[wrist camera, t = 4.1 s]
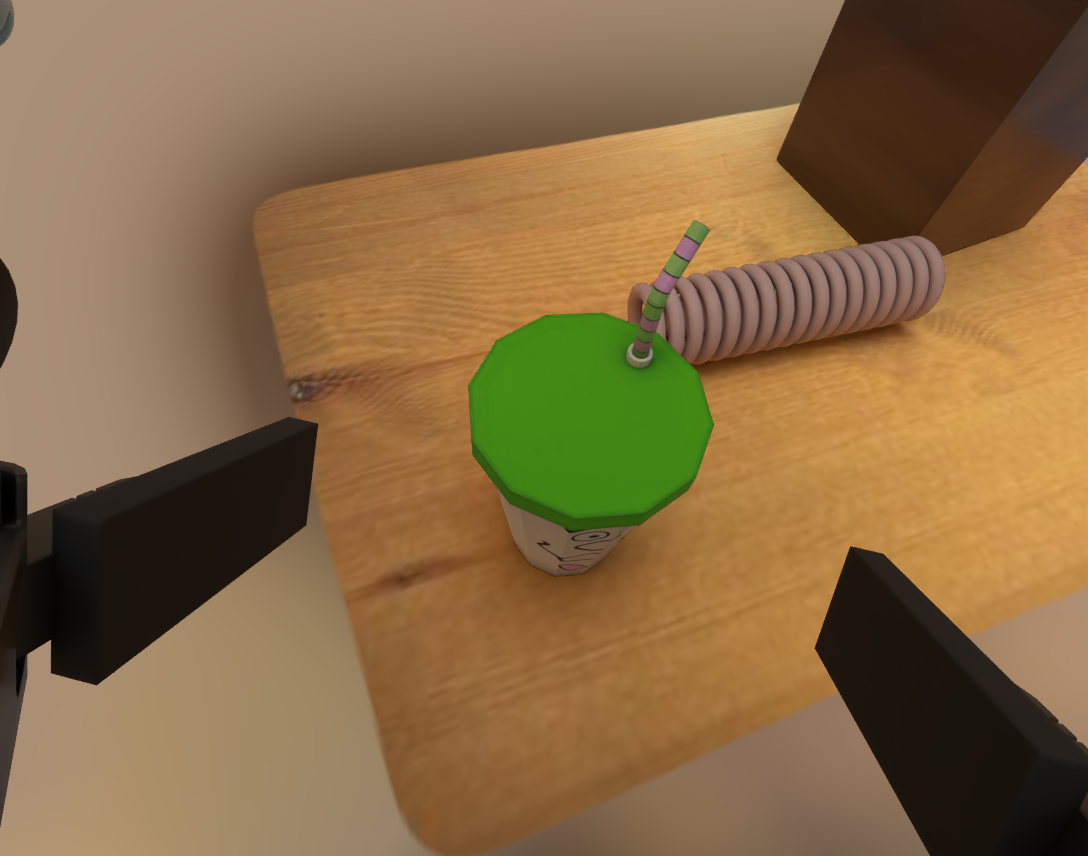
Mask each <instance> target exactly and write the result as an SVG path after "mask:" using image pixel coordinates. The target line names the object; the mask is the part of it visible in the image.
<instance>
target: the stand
mask: <svg viewBox="0 0 1088 856" xmlns="http://www.w3.org/2000/svg"><path fill="white" fill-rule="evenodd" d="M1087 157H1088V0H845V1H844V4H843V6H842V9H841V11H840V13H839V15H838V18H837V20H836V22H835V25H834V27H833V29H832V32H831V34H830V36H829V39H828V41H827V43H826V45H825V48H824V50H823V53H822V55H821V57H820V59H819V62H818V64H817V66H816V69H815V71H814V73H813V76H812V78H811V80H810V82H809V85H808V87H807V90H806V92H805V94H804V96H803V99H802V101H801V103H800V106H799V108H798V110H797V113H796V115H795V117H794V120H793V122H792V124H791V126H790V129H789V131H788V133H787V136H786V138H785V140H784V143H783V145H782V147H781V150H780V152H779V154H778V157H777V161H778V162H779V163H780V164H781V165H782V166H783V167H784V168H785V169H786V170H787V171H788V172H789V173H790V174H791V175H792V176H793V177H794V178H795V179H796V180H797V181H798V182H799V183H800V184H801V185H802V186H803V187H804V188H805V189H806V190H807V191H808V192H809V193H810V194H811V195H812V196H813V197H814V198H815V199H816V200H817V201H818V202H819V203H820V204H821V205H822V206H823V207H824V208H825V209H826V210H827V211H828V212H829V213H830V214H831V215H832V216H833V217H834V218H835V219H836V220H837V221H838V222H839V223H840V224H841V225H842V226H843V227H844V228H845V229H846V230H847V231H848V232H849V233H850V234H851V235H852V236H853V237H854V238H855V239H856V240H857V241H858V242H859V243H860V244H861V245H862V244H872V243H874V242H880V241H888V240H891V239H897V238H900V239H902V238H904V237H908V236H920V237H923V238H925V239H927V240H929V241H930V242H932V243H933V244H934V245H935V246H936V247H937V249H938V250H939V252H940V254H941V256H942V255H945V254H947V253H950V252H953V251H956V250H959V249H962V248H965V247H968V246H970V245H973V244H976V243H979V242H982V241H985V240H988V239H990V238H993V237H996V236H999V235H1002V234H1005V233H1008V232H1010V231H1013V230H1016V229H1019V228H1022V227H1024V226H1025V225H1026V224H1027V223H1028V222H1029V221H1030V220H1031V218H1032V217H1033V216H1034V215H1035V214H1036V213H1037V212H1038V211H1039V210H1040V209H1041V208H1042V206H1043V205H1044V204H1045V203H1046V202H1047V201H1048V200H1049V199H1050V198H1051V197H1052V196H1053V194H1054V193H1055V192H1056V191H1057V190H1058V189H1059V188H1060V187H1061V186H1062V185H1063V183H1064V182H1065V181H1066V180H1067V179H1068V178H1069V177H1070V176H1071V175H1072V174H1073V173H1074V171H1075V170H1076V169H1077V168H1078V167H1079V166H1080V165H1081V164H1082V163H1083V162H1084V161H1085V159H1086V158H1087Z"/></svg>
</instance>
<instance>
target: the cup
mask: <svg viewBox="0 0 1088 856" xmlns="http://www.w3.org/2000/svg"><path fill="white" fill-rule="evenodd" d="M709 231H710V230H709V229H708V228H707V227H706V226H705V225H703V224H702V223H700V222H698V221H696V220H693V222H692V224H691V225H690V227H689V228H688V230H687V232H686V233H685V235H684V236H683V238H682V240H681V241H680V243H679V244H678V246H677V248H676V249H675V251H674V253H673V254H672V256H671V257H670V259H669V261H668V262H667V264H666V265H665V267H664V269H663V270H662V272H661V273H660V275H659V277H658V278H657V280H656V281H655V283H654V285H653V287H652V289H651V292H650V294H649V296H648V299H647V302H646V305H645V308H644V312H643V315H642V318H641V322H640V325H639V326H638V325H635V324H632V323H630V322H627V321H624V320H621V319H619V318H616V317H613V316H611V315H608V314H605V313H584V314H561V315H545V316H543V317H541V318H539V319H537V320H535V321H533V322H531V323H529V324H527V325H525V326H523V327H521V328H520V329H518V330H516V331H514V332H512V333H510V334H508V335H506V336H504V337H502V338H500V339H498V340H496V342H495V343H494V345H493V347H492V348H491V350H490V351H489V353H488V355H487V356H486V358H485V359H484V361H483V363H482V364H481V366H480V367H479V369H478V371H477V372H476V374H475V375H474V377H473V379H472V380H471V382H470V383H469V386H468V390H469V407H470V424H471V441H472V454H473V456H474V458H475V459H476V460H477V462H478V463H479V464H480V465H481V467H482V468H483V469H484V471H485V472H486V473H487V475H488V476H489V477H490V479H491V480H492V481H493V483H494V484H495V485H496V488H497V491H498V494H499V497H500V500H501V503H502V506H503V509H504V512H505V515H506V518H507V522H508V525H509V528H510V531H511V534H512V537H513V540H514V543H515V545H516V546H517V548H518V549H519V551H520V552H521V553H522V555H523V556H524V557H525V559H526V560H527V561H528V563H529V564H530V565H531V566H533V567H535V568H537V569H540V570H542V571H544V572H546V573H548V574H551V575H553V576H566V575H577V574H583V573H584V572H585V571H587V570H588V569H590V568H591V567H592V566H594V565H595V564H597V563H598V562H599V561H601V560H602V559H603V558H604V557H605V556H606V555H607V554H608V553H609V552H610V551H611V550H612V549H613V548H614V547H615V546H616V545H617V544H618V543H619V542H620V541H621V540H622V539H623V538H624V537H625V536H626V535H627V534H628V533H629V532H630V531H631V530H632V529H633V528H634V527H635V526H639V525H640V524H642V523H643V522H645V521H646V520H647V519H649V518H650V517H652V516H653V515H654V514H656V513H657V512H659V511H660V510H661V509H663V508H664V507H666V506H667V505H668V504H670V503H671V502H672V501H674V500H675V499H677V498H678V497H679V496H681V495H682V494H684V493H685V492H686V491H688V490H689V488H690V486H691V485H692V483H693V481H694V480H695V478H696V476H697V473H698V470H699V467H700V464H701V461H702V458H703V455H704V452H705V450H706V447H707V444H708V441H709V438H710V435H711V432H712V429H713V426H714V423H713V420H712V417H711V413H710V410H709V406H708V403H707V400H706V396H705V393H704V389H703V386H702V383H701V379H700V376H699V373H698V372H697V371H696V370H695V369H694V368H693V367H692V366H691V365H690V364H689V363H688V362H687V361H686V360H685V359H684V358H683V357H682V356H681V355H680V354H679V353H678V352H677V351H676V350H675V349H674V348H673V347H672V346H671V345H670V344H669V343H668V342H667V341H666V340H665V339H664V338H663V337H662V336H661V335H659V334H658V333H657V332H656V330H657V327H658V324H659V321H660V318H661V315H662V312H663V309H664V306H665V304H666V301H667V299H668V297H669V295H670V293H671V291H672V289H673V288H674V286H675V285H676V283H677V281H678V280H679V278H680V277H681V275H682V274H683V272H684V270H685V269H686V267H687V266H688V264H689V263H690V261H691V259H692V258H693V256H694V255H695V253H696V252H697V250H698V248H699V247H700V245H701V244H702V242H703V241H704V239H705V237H706V236H707V234H708V233H709Z"/></svg>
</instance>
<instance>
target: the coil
mask: <svg viewBox="0 0 1088 856" xmlns="http://www.w3.org/2000/svg"><path fill="white" fill-rule="evenodd" d="M944 281H945V267H944V262H943V259H942V256H941V254H940V252H939V250H938V249H937V247H936V246H935V245H934V244H933V243H932V242H930V241H929V240H927V239H925V238H923V237H920V236H908V237H904V238H902V239H900V238H897V239H891V240H888V241H880V242H874V243H872V244H862V245H858V246H855V247H845V248H842V249H839V250H836V249H835V250H828V251H825V252H823V253H821V252H817V253H811V254H808V255H807V256H805V255H799V256H794V257H792V258H790V259H788V258H782V259H777V260H775V261H774V262H771V261H764V262H760V263H758V264H757V265H754V264H747V265H743V266H742V267H740V268H736V267H729V268H726V269H724V270H723V271H722V272H721V271H719V270H712V271H709V272H707V273H706V274H705V275H703V274H700V273H695V274H691V275H690V276H688V277H687V278H684V277H682V276H681V277H680V278H679V280H678V281H677V283H676V285H675V286H674V288H673V289H672V291H671V293H670V295H669V297H668V299H667V301H666V304H665V306H664V309H663V312H662V315H661V318H660V321H659V324H658V327H657V330H656V332H657V333H658V334H659V335H661V336H662V337H663V338H664V339H665V340H666V341H667V339H666V332H667V335H668V341H667V342H668V343H669V344H670V345H671V346H672V347H673V348H674V349H675V350H676V351H677V352H678V353H679V354H680V355H681V356H682V357H683V358H684V359H685V360H686V361H687V362H688V363H689V364H702V363H705V362H706V361H708V360H710V361H717V360H721V359H723V358H724V357H737V356H739V355H741V354H742V353H744V354H751V353H755V352H757V351H759V350H771V349H773V348H775V347H786V346H789V345H791V344H793V343H795V344H799V343H804V342H807V341H809V340H820V339H822V338H824V337H834V336H838V335H840V334H849V333H853V332H855V331H863V330H868V329H870V328H873V327H883V326H885V325H888V324H898V323H900V322H903V321H912V320H915V319H918V318H920V317H922V316H923V315H925V314H926V313H928V312H929V311H930V310H931V309H932V308H933V307H934V306H935V304H936V303H937V301H938V300H939V298H940V295H941V293H942V290H943V287H944ZM791 282H792V285H791ZM654 283H655V281H654V282H653V283H652V284H651V285H648V284H646V283H638V284H636V285H635V286H634V287H633V288H632V290H631V292H630V295H629V299H628V320H629V322H630V323H632V324H635V325H638V326H639V325H640V322H641V318H642V315H643V314H642V305H643V303H644V305H646V302H647V299H648V296H649V294H650V292H651V289H652V287H653V285H654ZM696 289H697V291H696ZM775 289H776V296H775ZM678 293H679V294H680V296H678ZM759 298H760V302H759ZM776 298H777V304H778V309H777V304H776ZM760 306H761V308H760ZM794 307H795V310H794ZM685 335H686V338H687V339H686V340H685ZM703 336H704V338H703ZM721 336H722V337H721Z"/></svg>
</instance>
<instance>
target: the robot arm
mask: <svg viewBox="0 0 1088 856" xmlns="http://www.w3.org/2000/svg"><path fill="white" fill-rule="evenodd" d="M13 25H14V11H13V6H12V1H11V0H0V46H1V45H2V44H3V43H5V41H6V40H7V39H8V38H9V36H10V34H11V32H12V29H13ZM317 429H318V424H317V423H313V422H309V421H304V420H300V419H296V418H291V417H287V418H285V419H282V420H280V421H277V422H275V423H273V424H270V425H267V426H264V427H262V428H259V429H257V430H254V431H252V432H249V433H247V434H244V435H242V436H239V437H236V438H234V439H232V440H229V441H226V442H224V443H221V444H219V445H216V446H213V447H211V448H209V449H206V450H203V451H201V452H198V453H196V454H193V455H190V456H188V457H185V458H183V459H180V460H178V461H175V462H173V463H170V464H167V465H165V466H162V467H160V468H158V469H155V470H152V471H150V472H147V473H144V474H142V475H139V476H136V477H131V478H126V479H120V480H118V481H115V482H112V483H109V484H107V485H104V486H102V487H99V488H97V489H96V491H93V490H91V491H89V492H86V493H83V494H81V495H78V496H77V498H76V499H75V498H70V499H68V500H65V501H63V502H60V503H57V504H55V505H52V506H50V507H47V508H44V509H42V510H39V511H36V512H34V513H32V514H29V515H27V473H26V470H25V468H23V467H21V466H18V465H16V464H14V463H9V462H4V461H0V825H1V819H2V814H3V808H4V802H5V797H6V792H7V786H8V780H9V775H10V769H11V764H12V758H13V752H14V747H15V741H16V735H17V730H18V724H19V719H20V713H21V707H22V702H23V696H24V691H25V685H26V680H27V654H28V653H30V652H32V651H33V650H35V649H36V648H38V647H40V646H41V645H43V644H45V643H46V642H48V641H49V640H51V673H52V674H56V675H60V676H64V677H67V678H71V679H75V680H78V681H82V682H86V683H90V684H94V685H98V684H99V683H100V682H102V681H103V680H104V679H106V678H107V677H108V676H110V675H111V674H112V673H114V672H115V671H116V670H117V669H119V668H120V667H121V666H123V665H124V664H125V663H127V662H128V661H129V660H130V659H132V658H133V657H134V656H136V655H137V654H138V653H140V652H141V651H142V650H144V649H145V648H146V647H148V646H149V645H150V644H151V643H153V642H154V641H155V640H157V639H158V638H159V637H161V636H162V635H163V634H165V633H166V632H167V631H168V630H170V629H171V628H172V627H174V626H175V625H176V624H178V623H179V622H180V621H181V620H183V619H184V618H186V616H188V615H189V614H191V613H192V612H193V611H195V610H196V609H197V608H199V607H200V606H201V605H202V604H204V603H205V602H206V601H208V600H209V599H210V598H212V597H213V596H214V595H215V594H217V593H218V592H219V591H221V590H222V589H223V588H225V587H226V586H227V585H229V584H230V583H231V582H233V581H234V580H235V579H237V578H238V577H239V576H240V575H242V574H243V573H244V572H246V571H247V570H248V569H250V568H251V567H252V566H254V565H255V564H256V563H257V562H259V561H260V560H261V559H263V558H264V557H265V556H267V555H268V554H269V553H271V552H272V551H273V550H274V549H276V548H277V547H278V546H280V545H281V544H282V543H284V542H285V541H286V540H288V539H289V538H290V537H292V536H293V535H294V534H295V533H297V532H298V531H299V530H301V529H302V528H303V527H305V526H306V523H307V514H308V506H309V496H310V489H311V480H312V472H313V463H314V455H315V446H316V438H317ZM815 650H816V651H817V653H818V655H819V657H820V659H821V660H822V662H823V664H824V666H825V668H826V669H827V671H828V673H829V675H830V677H831V678H832V680H833V682H834V684H835V686H836V687H837V689H838V691H839V693H840V695H841V696H842V698H843V700H844V702H845V704H846V705H847V707H848V709H849V711H850V713H851V714H852V716H853V718H854V720H855V722H856V723H857V725H858V727H859V729H860V731H861V732H862V734H863V736H864V738H865V740H866V741H867V743H868V745H869V747H870V749H871V750H872V752H873V754H874V756H875V758H876V759H877V761H878V763H879V765H880V767H881V768H882V770H883V772H884V774H885V776H886V777H887V779H888V781H889V783H890V784H891V786H892V788H893V790H894V792H895V793H896V795H897V797H898V799H899V801H900V803H901V804H902V806H903V808H904V810H905V812H906V813H907V815H908V817H909V819H910V821H911V823H912V824H913V826H914V828H915V830H916V831H917V833H918V835H919V837H920V839H921V841H922V842H923V844H924V846H925V848H926V849H927V851H928V853H929V855H930V856H1088V748H1087V747H1086V746H1085V745H1084V744H1082V743H1081V742H1077V738H1076V737H1075V736H1074V735H1073V734H1072V733H1071V732H1070V731H1069V730H1068V729H1067V728H1066V727H1065V726H1064V725H1063V724H1059V723H1058V719H1057V718H1056V717H1055V716H1054V715H1053V714H1052V713H1051V712H1050V711H1049V710H1047V709H1046V707H1044V706H1043V705H1042V704H1041V703H1040V702H1039V701H1038V700H1037V699H1036V698H1035V697H1033V696H1032V695H1030V694H1029V693H1027V692H1026V691H1025V690H1023V689H1022V688H1020V687H1019V686H1017V685H1016V684H1014V683H1013V682H1012V681H1011V680H1010V679H1009V678H1008V677H1007V676H1006V675H1005V674H1004V673H1003V672H1002V671H1001V670H1000V669H999V668H998V667H997V666H996V665H995V664H994V663H993V662H992V661H991V660H990V659H989V658H988V657H987V656H986V655H985V654H984V653H983V652H982V651H981V650H980V649H979V648H978V647H977V646H976V645H975V644H974V643H973V642H972V641H971V640H970V639H969V638H968V637H967V636H966V635H965V634H964V633H963V632H962V631H961V630H960V629H959V628H958V627H957V626H956V625H955V624H954V623H953V622H952V621H951V620H950V619H949V618H948V617H947V616H946V615H945V614H944V613H943V612H942V611H941V610H940V609H939V608H938V607H937V606H936V605H935V604H934V603H933V602H931V601H930V600H929V599H928V598H927V597H926V596H925V595H924V594H923V593H922V592H921V591H920V590H919V589H918V588H917V587H916V586H915V585H914V584H913V583H912V582H911V581H910V580H909V579H908V578H907V577H906V576H905V575H904V574H903V573H902V572H901V571H900V570H899V569H898V568H897V567H896V566H895V565H894V564H893V563H892V562H891V561H890V560H889V559H888V558H887V557H886V556H885V555H884V554H882V553H877V552H873V551H869V550H864V549H860V548H856V547H851V546H850V549H849V552H848V554H847V557H846V560H845V563H844V566H843V569H842V572H841V574H840V577H839V580H838V583H837V586H836V589H835V592H834V594H833V597H832V600H831V603H830V606H829V609H828V612H827V614H826V617H825V620H824V623H823V626H822V629H821V632H820V634H819V637H818V640H817V643H816V646H815Z"/></svg>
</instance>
